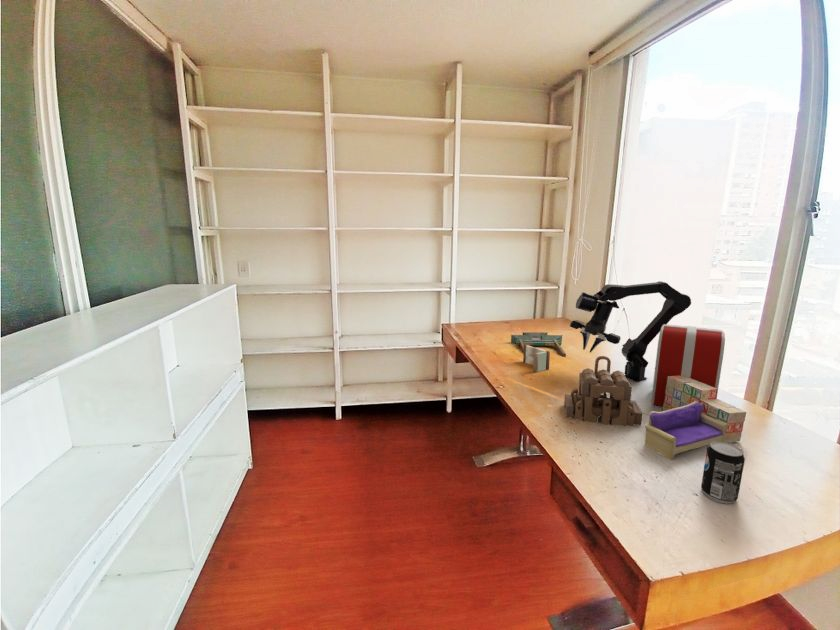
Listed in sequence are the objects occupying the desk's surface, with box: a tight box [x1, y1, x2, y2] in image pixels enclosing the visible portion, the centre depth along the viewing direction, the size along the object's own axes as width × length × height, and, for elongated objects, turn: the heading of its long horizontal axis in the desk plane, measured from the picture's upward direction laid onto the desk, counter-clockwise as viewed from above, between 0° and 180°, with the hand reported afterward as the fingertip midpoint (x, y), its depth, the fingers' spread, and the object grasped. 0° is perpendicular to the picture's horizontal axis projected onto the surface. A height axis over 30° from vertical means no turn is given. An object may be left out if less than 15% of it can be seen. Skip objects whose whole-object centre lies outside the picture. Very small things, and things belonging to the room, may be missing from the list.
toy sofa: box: [644, 401, 728, 461], centre depth 108 cm, size 21×9×10 cm, turn 109°
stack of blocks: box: [662, 376, 747, 443], centre depth 118 cm, size 21×6×12 cm, turn 11°
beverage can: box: [700, 441, 746, 505], centre depth 87 cm, size 7×7×12 cm
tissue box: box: [650, 323, 726, 409], centre depth 132 cm, size 17×18×27 cm
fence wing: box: [532, 352, 547, 373], centre depth 164 cm, size 6×2×8 cm, turn 115°
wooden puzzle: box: [563, 355, 643, 427], centre depth 126 cm, size 22×15×19 cm, turn 74°
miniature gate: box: [510, 331, 567, 358], centre depth 200 cm, size 27×6×30 cm
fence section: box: [522, 345, 551, 371], centre depth 171 cm, size 14×2×8 cm, turn 35°
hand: (587, 350), depth 158 cm, fingers open, 2 cm apart
